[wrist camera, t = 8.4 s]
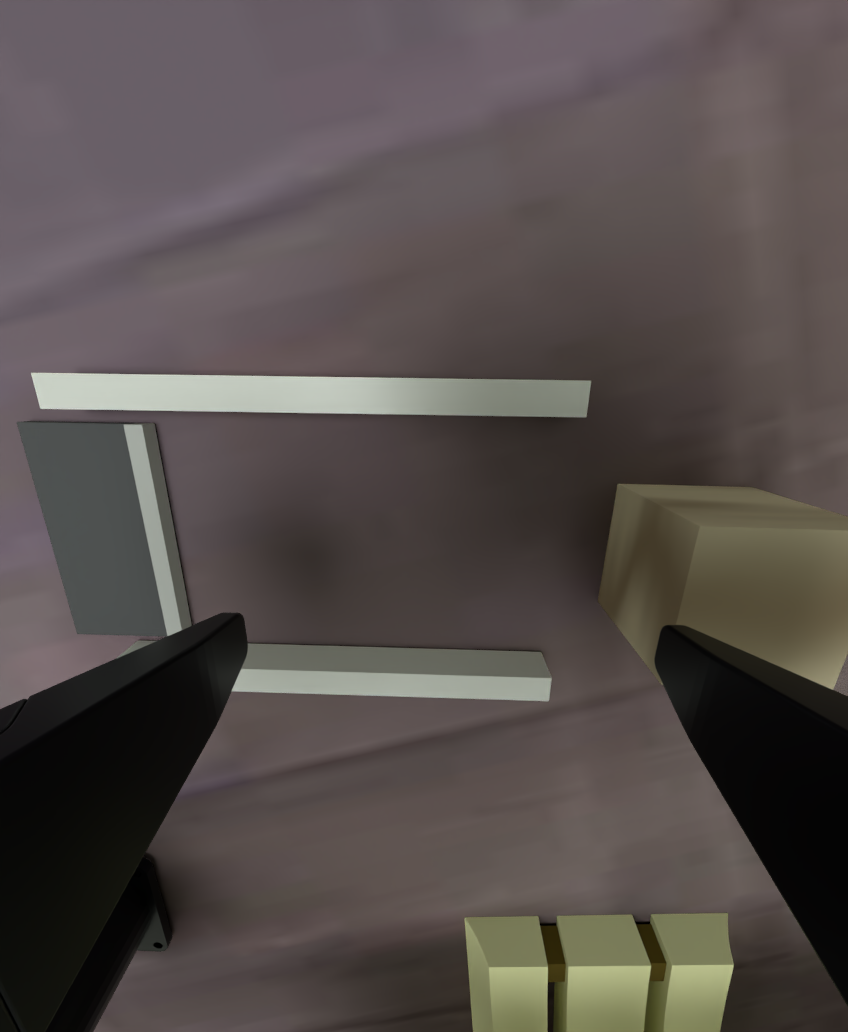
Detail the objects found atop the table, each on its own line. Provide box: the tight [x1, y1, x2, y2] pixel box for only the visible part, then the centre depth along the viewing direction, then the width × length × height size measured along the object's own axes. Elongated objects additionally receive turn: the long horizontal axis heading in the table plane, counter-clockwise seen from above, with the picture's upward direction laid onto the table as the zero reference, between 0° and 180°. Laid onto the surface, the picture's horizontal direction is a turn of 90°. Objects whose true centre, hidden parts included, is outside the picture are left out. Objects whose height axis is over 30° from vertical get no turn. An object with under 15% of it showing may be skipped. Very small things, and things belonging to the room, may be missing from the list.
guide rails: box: [31, 373, 591, 701], centre depth 14 cm, size 11×16×2 cm
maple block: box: [598, 484, 848, 690], centre depth 12 cm, size 4×4×4 cm
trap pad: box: [17, 421, 192, 636], centre depth 14 cm, size 8×4×1 cm, turn 179°
